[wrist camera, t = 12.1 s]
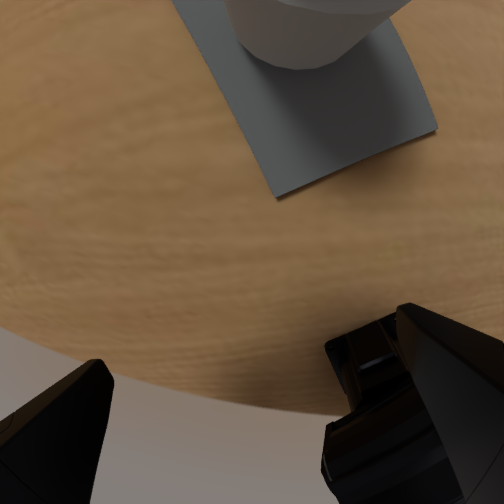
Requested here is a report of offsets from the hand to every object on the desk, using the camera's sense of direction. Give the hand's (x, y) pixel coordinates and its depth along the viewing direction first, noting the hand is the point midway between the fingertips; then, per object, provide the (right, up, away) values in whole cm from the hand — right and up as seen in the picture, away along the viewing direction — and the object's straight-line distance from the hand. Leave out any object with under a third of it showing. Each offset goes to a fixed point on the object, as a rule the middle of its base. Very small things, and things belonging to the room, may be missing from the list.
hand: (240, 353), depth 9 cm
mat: (+4, +15, +8) cm, 18 cm away
